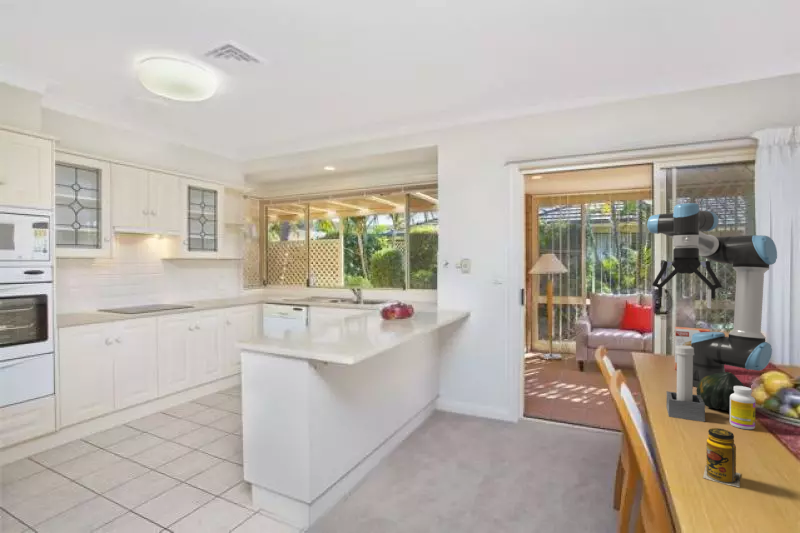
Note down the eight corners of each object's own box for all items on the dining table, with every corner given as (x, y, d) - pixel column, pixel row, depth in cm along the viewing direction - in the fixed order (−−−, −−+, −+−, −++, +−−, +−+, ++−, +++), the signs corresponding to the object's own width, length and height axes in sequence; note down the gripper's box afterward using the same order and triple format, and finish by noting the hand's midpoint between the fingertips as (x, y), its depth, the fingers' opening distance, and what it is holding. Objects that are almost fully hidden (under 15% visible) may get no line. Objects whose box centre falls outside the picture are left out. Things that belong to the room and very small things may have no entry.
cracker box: (674, 370, 207) (675, 328, 207) (674, 367, 212) (674, 326, 212) (710, 374, 200) (710, 330, 199) (708, 371, 205) (709, 328, 205)
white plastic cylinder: (696, 417, 148) (697, 332, 147) (676, 416, 149) (677, 331, 148) (689, 411, 153) (690, 329, 153) (670, 410, 155) (670, 329, 154)
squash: (690, 384, 168) (700, 362, 158) (735, 389, 163) (748, 367, 153) (697, 417, 158) (708, 396, 148) (746, 423, 153) (761, 402, 143)
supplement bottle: (757, 431, 136) (757, 392, 135) (731, 427, 139) (731, 389, 139) (753, 424, 141) (753, 386, 141) (728, 420, 145) (728, 383, 144)
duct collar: (700, 411, 153) (700, 395, 153) (704, 421, 144) (704, 404, 144) (666, 407, 158) (666, 391, 158) (668, 416, 149) (668, 399, 149)
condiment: (702, 478, 108) (703, 432, 108) (705, 465, 115) (706, 422, 114) (739, 488, 103) (739, 440, 103) (740, 474, 110) (740, 428, 110)
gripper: (645, 247, 152) (645, 306, 153) (732, 246, 140) (731, 310, 141) (644, 248, 159) (644, 304, 159) (727, 246, 147) (727, 307, 147)
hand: (685, 307), depth 150 cm, fingers open, 13 cm apart
